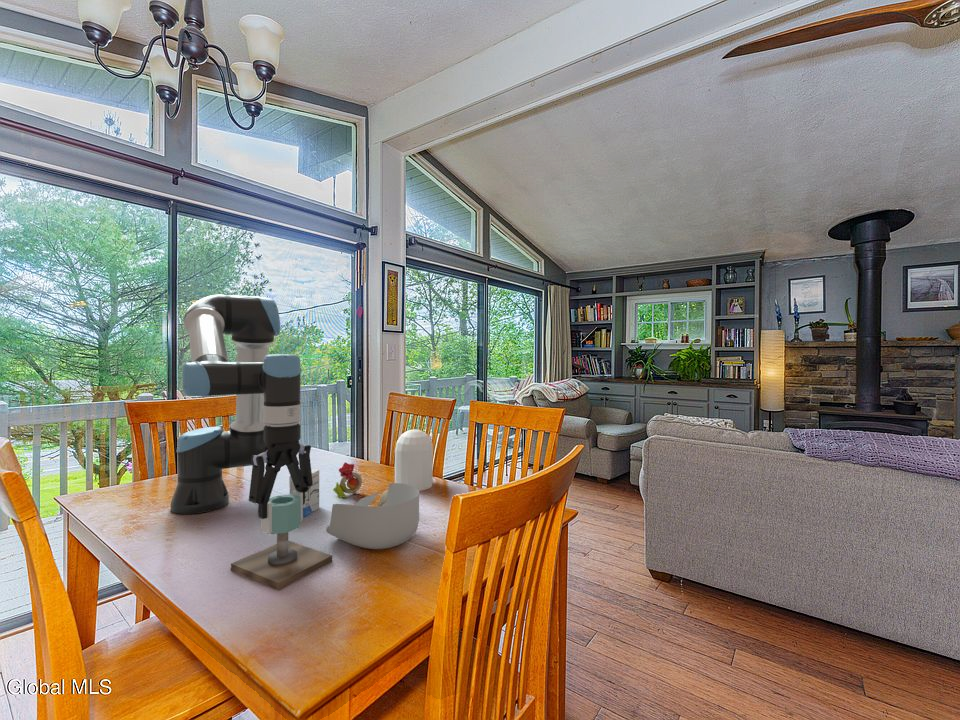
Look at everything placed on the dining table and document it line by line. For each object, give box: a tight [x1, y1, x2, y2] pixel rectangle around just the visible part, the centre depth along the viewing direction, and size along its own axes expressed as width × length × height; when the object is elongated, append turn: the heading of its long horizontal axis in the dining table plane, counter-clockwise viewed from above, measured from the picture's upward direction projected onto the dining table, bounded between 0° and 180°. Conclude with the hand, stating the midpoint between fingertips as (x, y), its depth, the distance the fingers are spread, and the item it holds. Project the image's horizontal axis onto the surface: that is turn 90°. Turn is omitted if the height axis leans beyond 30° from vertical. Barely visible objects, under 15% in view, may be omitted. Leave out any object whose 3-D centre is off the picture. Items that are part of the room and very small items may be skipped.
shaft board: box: [230, 532, 333, 591], centre depth 101 cm, size 16×14×10 cm
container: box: [394, 428, 434, 492], centre depth 160 cm, size 14×13×20 cm
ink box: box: [288, 468, 320, 518], centre depth 134 cm, size 9×5×12 cm, turn 168°
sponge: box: [377, 488, 388, 507], centre depth 134 cm, size 9×10×10 cm
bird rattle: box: [332, 462, 363, 499], centre depth 149 cm, size 6×11×9 cm
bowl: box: [325, 482, 420, 550], centre depth 116 cm, size 20×19×12 cm
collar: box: [269, 494, 302, 535], centre depth 101 cm, size 7×7×6 cm
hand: (282, 525), depth 101 cm, fingers closed on collar, 7 cm apart
